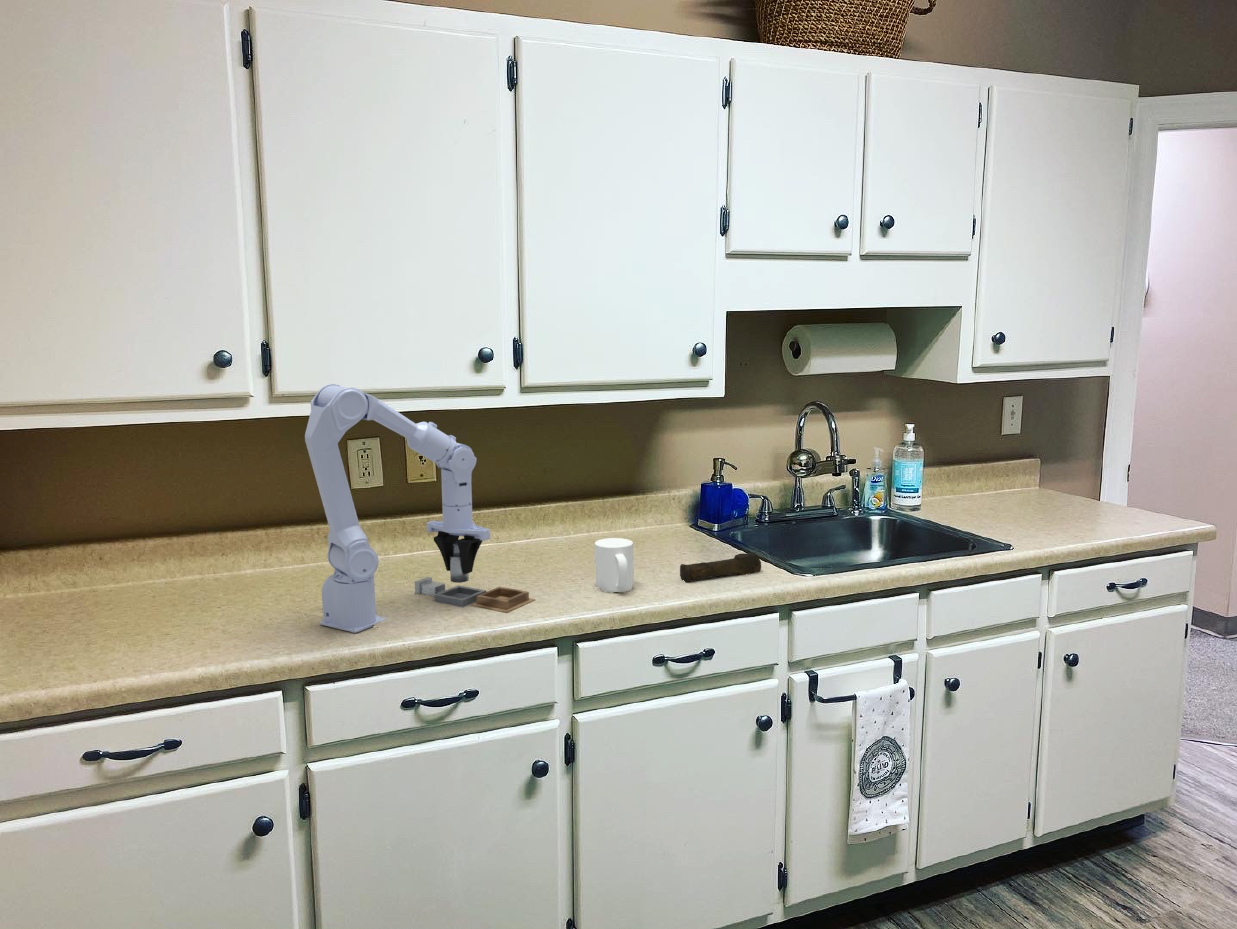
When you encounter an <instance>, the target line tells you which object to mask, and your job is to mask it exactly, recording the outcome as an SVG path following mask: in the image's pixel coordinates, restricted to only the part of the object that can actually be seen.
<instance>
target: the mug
mask: <svg viewBox="0 0 1237 929" xmlns="http://www.w3.org/2000/svg"><path fill="white" fill-rule="evenodd" d="M594 564H595V570H596V571H595V587H596V588H597V589H598V590H599V589H600V591H601V590H602V591H601V592H604V591H606V592H605V593H609V592H623V593H627V592H630V591H632V590H633V588H634V584H633V583H634V577H635V575H634V573H635V571H634V569H635V567H634V566H635V565H634V542H633V541H632V540H630V539H627V538H621V537H620V538H619V537H610V538H609V537H608V538H602V539H598V540H596V541H595V542H594ZM632 587H633V588H632ZM629 590H630V591H629ZM626 591H627V592H626Z"/></svg>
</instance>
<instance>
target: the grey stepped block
mask: <svg viewBox="0 0 1237 929" xmlns="http://www.w3.org/2000/svg"><path fill="white" fill-rule="evenodd" d="M445 590H446V583H443V582H440V581H439V582H438V581H434V580H433V577H430V576H426V577H422V578H419V579H417V580H415V581H414V594H417V595H426V596H430V597H434V598H435V594H438V593H440V592H443V591H445Z"/></svg>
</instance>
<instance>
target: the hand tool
mask: <svg viewBox="0 0 1237 929" xmlns="http://www.w3.org/2000/svg"><path fill="white" fill-rule="evenodd" d="M761 570H762V561H761V559H760V557H759V555H758V554H757V553H756V552H747V553H745V552H743V553H738V554H735V555H734V556H733V558H729V559H728V558H727V559H722V560H714V561H709V562H708V561H707V562H705V561H703V562H699V563H698V562H696V563H691V564H683V563H681V564H680V566H679V577H680V579H682V580H681V581H683V580H684V581H685V583H689V581H692V582H695V580H700V579H707V578H713V577H714V578H715V577H721V576H727V575H737V576H746V574H747V575H751V574H755V573H757V572H760V571H761ZM684 581H683V582H684Z"/></svg>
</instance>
